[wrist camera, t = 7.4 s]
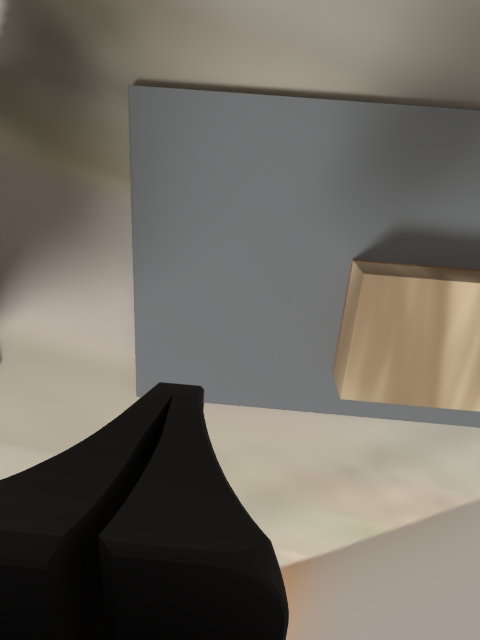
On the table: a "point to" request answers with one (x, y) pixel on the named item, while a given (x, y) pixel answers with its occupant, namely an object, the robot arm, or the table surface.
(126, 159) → the table surface
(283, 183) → the rubber mat
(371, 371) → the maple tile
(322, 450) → the table surface
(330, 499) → the table surface
